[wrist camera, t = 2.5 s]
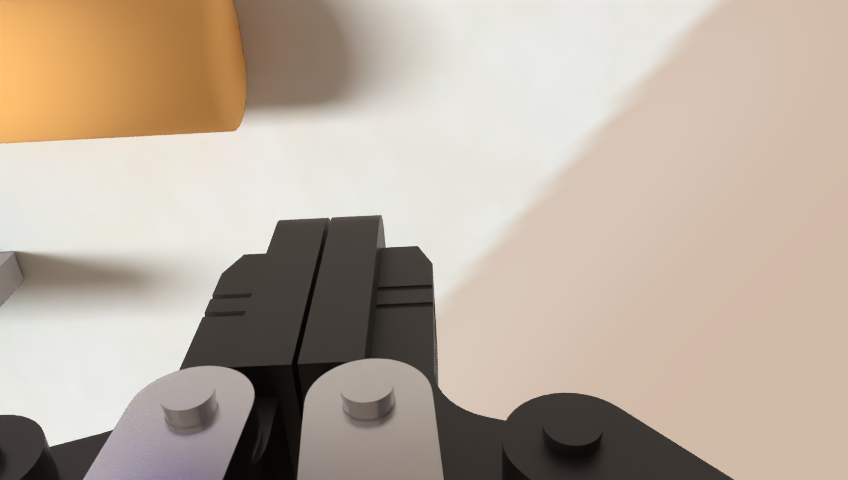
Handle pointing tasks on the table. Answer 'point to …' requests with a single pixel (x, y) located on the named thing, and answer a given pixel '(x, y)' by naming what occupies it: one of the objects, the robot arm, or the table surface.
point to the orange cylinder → (119, 68)
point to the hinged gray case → (9, 275)
